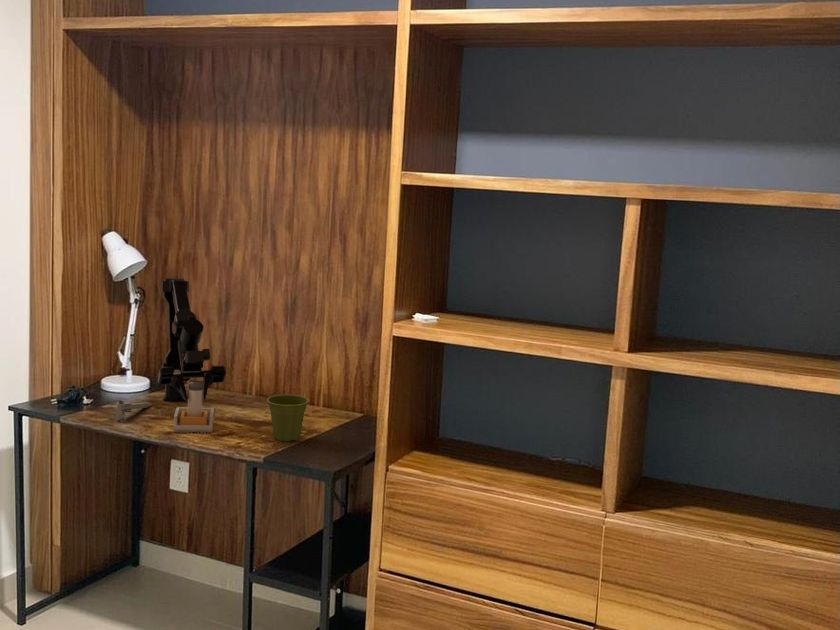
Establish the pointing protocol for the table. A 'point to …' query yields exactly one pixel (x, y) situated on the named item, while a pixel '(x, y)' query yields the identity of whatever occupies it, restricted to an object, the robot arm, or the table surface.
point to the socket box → (193, 421)
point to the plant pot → (287, 415)
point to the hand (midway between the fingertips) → (195, 399)
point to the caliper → (128, 408)
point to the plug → (195, 399)
